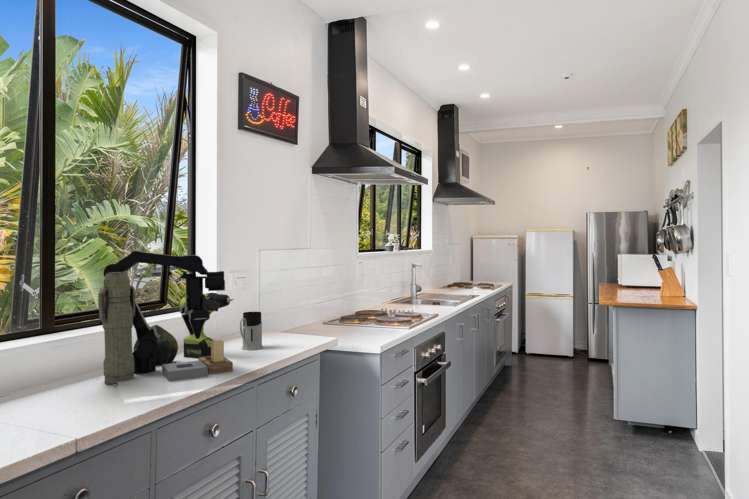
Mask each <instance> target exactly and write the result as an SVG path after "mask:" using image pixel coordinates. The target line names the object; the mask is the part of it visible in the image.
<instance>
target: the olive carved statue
mask: <svg viewBox="0 0 749 499" xmlns="http://www.w3.org/2000/svg"><path fill="white" fill-rule="evenodd" d="M97 295H98V296H97V297H98V320H99V321H101V322H102V329H103V331H104V332H103V333H104V360H103V364H102V365H103V376H104V381H103V382H104V384H105V385H108V386H117V385H118V386H119V382H126V381H130V380H133V379H134V378H135V374H134V372H135V370H134V358H133V355H132V353H133V336H132V335H133V333H132V332H133V330H132V328H133V327H134V325H133V317H134V316H135V300H136V290H135V287H134V286H133V285H131V281H130V277H129V274H128V273H127V272H126V273H125V272H109V273H108V274H106V276H105V277H104V279H103V288H101V289H99V291H98V294H97Z"/></svg>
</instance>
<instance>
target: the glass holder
mask: <svg viewBox="0 0 749 499" xmlns="http://www.w3.org/2000/svg"><path fill="white" fill-rule="evenodd" d="M262 325H263V323H262V312H261V311H246V312H245V311H244V312H243V313H242V318H241V319H240V321H239V331H240V335H241V338H242V347H241V350H243V351H257V350H258V351H259V350H263V349H264V347H263V333H262V332H263V331H262V330H263V327H262Z"/></svg>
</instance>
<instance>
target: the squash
mask: <svg viewBox="0 0 749 499" xmlns="http://www.w3.org/2000/svg"><path fill="white" fill-rule="evenodd" d="M154 326H155V327H156V330H157V333H158V334H159V335H160V337H159V345H158V347H157V349H156V350H155V351H153V352H152V354H153V356H154V359H155V360H156V366H162V364H170V363H173V361H175V359H176V357H177V354H178V352H179V351H178V350H179V345H178V341H177V339H176V337H175V336H174V335H173V334H172V333H171V332H169V331H168V330H166V329H165V328H163V327H162V326H160V325H158V324H155V325H152V326H150V327H151V328H152V327H154ZM138 346H139V344H138V340H137V339H136V341H135V342H134V345H133V350H132V353H133V352H134V350H135V349H136V348H137V347H138Z"/></svg>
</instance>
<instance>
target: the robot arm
mask: <svg viewBox="0 0 749 499" xmlns="http://www.w3.org/2000/svg"><path fill="white" fill-rule="evenodd" d="M138 263H142V264H143V263H144V264H150V265H151V264H152V265H159V266H166V267H167V266H168V267H174V268H179V269H181V270H182V271H183V270H184V271H183V273H182V274H181V275H180V276H179V279H185V294H184V296H183V297H185V298H186V305H183V306H182V307H181V308H180V307H179V312H180V315H181V318H182V320H183V322H184V323H185V326H186V329H187V330H188V332H189V335H193V334H194V335H195V337H196V339H199V338H200V334H201V330H202V327H203V323H204V322H205V323H206V322H207V321H208V319H209V320H210V318H211V314H210V312H209V311H208V310H207V309H206V308H208V309H211V310H214V312H218V311H219V309H220V308H219V306H220V303H218V302H215V301H214V298H211V297H208V298H207V299H205V295H204V294H205V293H204V288H205V289H208V290H207V291H208V292H218V291H221V292H223V291H226V280H225V271H224V270H220V271H208V269H206V267H205V266H204V262H203V259H202V257H201V256H199V255H198V254H187V255H186V254H185V255H170V254H162V253H155V252H146V251H140V250H133V251H131V252H130V253H129V254H127V256H125V257H123V258H122V259H121V260H119V261H117V262H115V263H111V264H108V265H107V266H105V267H104V269H103V273H102V274H103V276H104V277H103V278H105V276H106V274H108V273H109V272H125V273H127V272H128V271H129V270H130V269H131V268H133V267H134V266H136V265H137V264H138ZM186 271H188V272H190V273H188V272H186ZM197 274H199V276H197ZM139 306H140V305H139V304H138V302H137V300H136V299H135V316H134V317H133V328H134V329H135V334H136V341H137V340H138V344H139V346H138V347H137V348H136V349H135V350H134V349H133V351H134V352H133V351H132V356H133V358H134V370H135V372H134V375H136V374H138V375H141V374H142V375H143V374H150V373H154V372H156V371H157V369H156V368H157V363H156V360H155V359H154V356H153V354H152V352H153V351H155V350H156V349H157V347H158V345H159V337H160V335H159V334H158V333H157V330H156V327H155V326H154V325H153V326H154V327H152V326H150V324H148V323H147V320H146V318H145V316H144V314H143V312H142V311H141V308H140V307H139ZM206 320H207V321H206ZM151 327H152V328H151Z"/></svg>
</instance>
